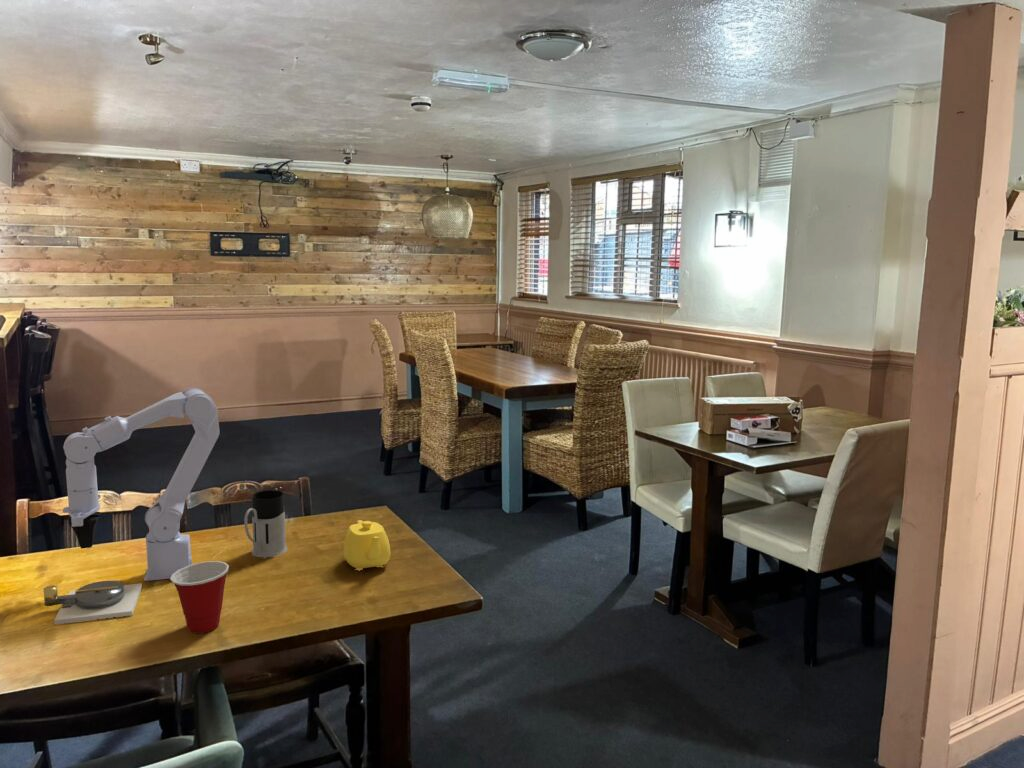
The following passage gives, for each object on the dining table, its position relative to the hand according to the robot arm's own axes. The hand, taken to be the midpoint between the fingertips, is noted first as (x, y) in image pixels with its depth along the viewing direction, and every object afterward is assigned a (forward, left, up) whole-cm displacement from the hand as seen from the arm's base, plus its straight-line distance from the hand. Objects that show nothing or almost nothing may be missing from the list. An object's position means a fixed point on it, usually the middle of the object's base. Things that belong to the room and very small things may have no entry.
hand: (86, 547), depth 164 cm
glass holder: (-37, -8, -10) cm, 39 cm away
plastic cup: (-25, +27, -10) cm, 38 cm away
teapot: (-61, +5, -10) cm, 62 cm away
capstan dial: (-1, +10, -8) cm, 13 cm away
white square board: (-4, +11, -9) cm, 15 cm away
